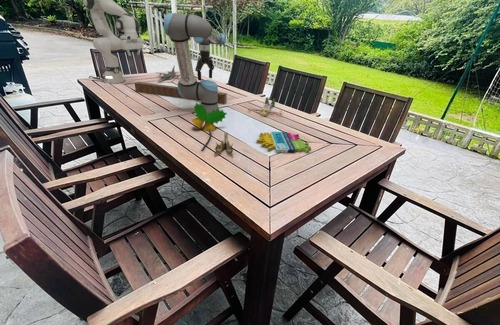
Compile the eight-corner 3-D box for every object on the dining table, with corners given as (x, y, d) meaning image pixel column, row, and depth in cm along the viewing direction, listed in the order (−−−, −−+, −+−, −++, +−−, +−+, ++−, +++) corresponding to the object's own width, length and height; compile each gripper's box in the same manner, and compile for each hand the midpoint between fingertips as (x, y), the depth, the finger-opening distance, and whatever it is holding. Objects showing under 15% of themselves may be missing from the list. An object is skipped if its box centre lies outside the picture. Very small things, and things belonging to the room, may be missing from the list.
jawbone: (234, 135, 144) (233, 125, 135) (233, 160, 138) (232, 151, 129) (217, 135, 144) (216, 125, 135) (216, 160, 138) (214, 150, 129)
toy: (287, 99, 210) (283, 109, 184) (286, 108, 213) (282, 119, 187) (254, 95, 215) (245, 104, 189) (253, 104, 218) (244, 114, 192)
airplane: (150, 75, 286) (149, 65, 281) (179, 74, 299) (178, 64, 294) (157, 84, 258) (155, 73, 253) (188, 82, 271) (187, 72, 266)
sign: (313, 150, 142) (258, 149, 139) (312, 153, 143) (258, 152, 140) (301, 132, 164) (254, 130, 161) (301, 134, 165) (254, 133, 162)
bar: (226, 102, 216) (226, 93, 212) (224, 104, 211) (224, 94, 207) (139, 90, 231) (138, 81, 227) (135, 91, 226) (134, 82, 223)
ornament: (218, 133, 171) (224, 110, 169) (221, 134, 163) (227, 111, 161) (186, 125, 162) (192, 101, 160) (189, 126, 155) (195, 101, 153)
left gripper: (138, 36, 220) (140, 53, 227) (118, 36, 203) (121, 55, 210) (143, 36, 218) (146, 54, 224) (124, 37, 201) (127, 56, 208)
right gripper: (211, 49, 211) (211, 76, 221) (189, 51, 192) (191, 80, 202) (218, 50, 208) (218, 77, 218) (197, 52, 189) (198, 82, 199)
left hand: (134, 55), depth 217 cm, fingers open, 8 cm apart
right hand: (205, 79), depth 210 cm, fingers open, 13 cm apart
